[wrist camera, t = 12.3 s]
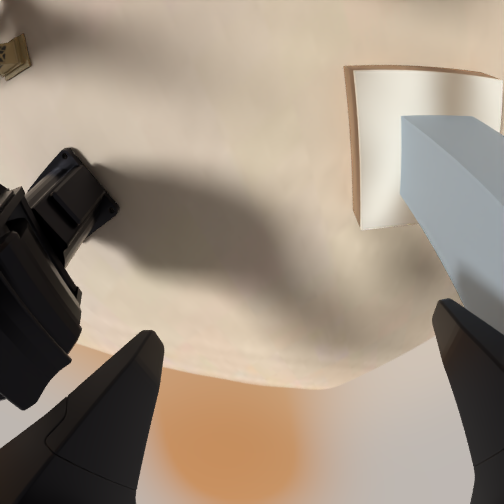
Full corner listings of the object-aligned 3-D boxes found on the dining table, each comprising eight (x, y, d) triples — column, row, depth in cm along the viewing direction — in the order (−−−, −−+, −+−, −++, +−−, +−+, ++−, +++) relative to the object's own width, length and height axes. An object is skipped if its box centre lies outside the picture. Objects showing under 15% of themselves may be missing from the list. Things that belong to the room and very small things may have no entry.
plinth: (352, 209, 21) (361, 230, 19) (343, 66, 15) (354, 71, 13) (469, 198, 20) (485, 216, 18) (481, 72, 14) (502, 80, 12)
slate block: (399, 194, 18) (489, 365, 8) (400, 115, 14) (548, 261, 5) (465, 188, 17) (567, 333, 7) (472, 116, 14) (619, 240, 4)
